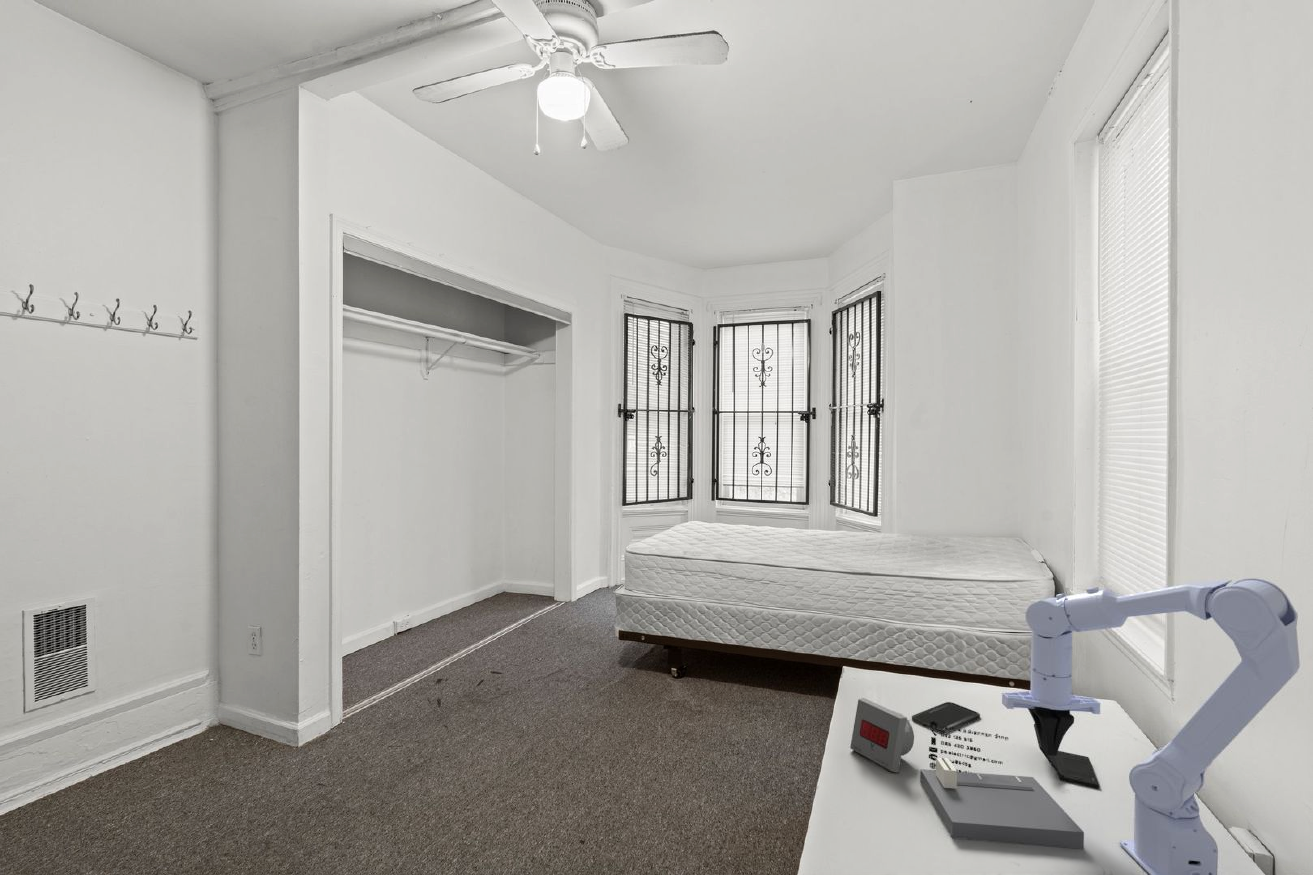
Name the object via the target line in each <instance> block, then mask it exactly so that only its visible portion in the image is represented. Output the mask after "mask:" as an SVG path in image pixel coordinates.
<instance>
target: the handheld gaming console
mask: <svg viewBox="0 0 1313 875" xmlns="http://www.w3.org/2000/svg"><path fill="white" fill-rule="evenodd" d="M1033 727H1034V731H1035V736H1036V741H1037V744H1038V748H1039V750H1040V751H1041V752H1042V754H1043V755H1044V757H1045V758H1046V759H1047V761H1048V762H1049V763H1050V765H1051V767H1053V769H1054V770H1055V772H1056V773H1057V774H1058V778H1059V781H1062V782H1066V783H1070V784H1076V785H1079V786H1083V787H1088V788H1092V789H1096V790H1099V789H1100V783H1099V781H1098V778H1097V776H1096V772H1095V771H1094V767H1093V765H1092V762H1091V759H1090V757H1089V756H1085V755H1080V754H1076V753H1072V752H1071V753H1070V752H1066V751H1062V750H1058V752H1057V756H1052V755H1047V754H1046V753H1045V752H1044V751H1043V750H1042V746H1041V741H1040V737H1039V733H1038V730H1037V727H1036V725H1035V723H1034V724H1033Z"/></svg>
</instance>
